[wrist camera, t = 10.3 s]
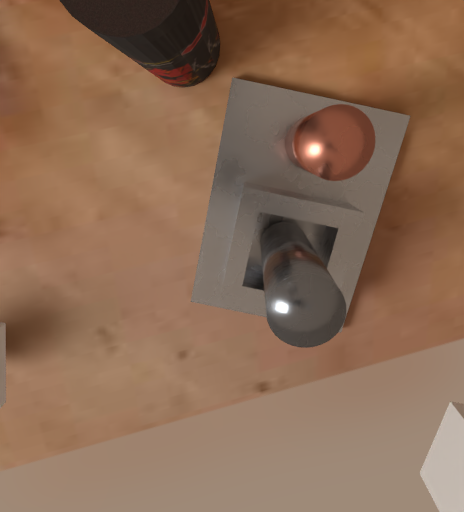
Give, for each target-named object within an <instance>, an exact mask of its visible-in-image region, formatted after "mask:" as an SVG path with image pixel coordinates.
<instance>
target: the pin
mask: <svg viewBox="0 0 464 512" xmlns="http://www.w3.org/2000/svg"><path fill="white" fill-rule="evenodd" d="M260 248H261V259H262V270H263V282H264V293H265V304H266V315H267V320H268V324H269V326H270V328H271V330H272V331H273V333H274V334H275V335H276V336H277V337H278V338H279V339H281V340H282V341H284V342H285V343H287V344H290V345H292V346H296V347H314V346H318V345H321V344H323V343H325V342H327V341H329V340H330V339H332V338H333V337H334V336H335V335H336V334H337V333H338V332H339V330H340V329H341V327H342V326H343V323H344V321H345V317H346V302H345V299H344V296H343V294H342V292H341V291H340V289H339V287H338V286H337V284H336V283H335V281H334V279H333V278H332V276H331V275H330V273H329V271H328V270H327V268H326V267H325V265H324V264H323V262H322V260H321V259H320V257H319V256H318V254H317V252H316V251H315V249H314V248H313V246H312V244H311V243H310V241H309V240H308V238H307V236H306V235H305V233H304V232H303V230H302V229H301V228H300V227H298V226H297V225H295V224H293V223H290V222H279V223H275V224H273V225H271V226H270V227H269V228H268V229H266V231H265V232H264V234H263V235H262V238H261V242H260Z"/></svg>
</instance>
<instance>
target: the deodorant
mask: <svg viewBox="0 0 464 512" xmlns="http://www.w3.org/2000/svg"><path fill="white" fill-rule="evenodd" d="M60 2H61V3H62V4H63V5H64V7H65V8H66V9H67V10H68V12H69V13H70V14H71V15H72V16H73V17H74V18H75V19H77V20H78V21H79V22H81V23H82V24H83V25H84V26H86V27H87V28H88V29H90V30H91V31H93V32H94V33H95V34H97V35H98V36H100V37H101V38H103V39H104V40H105V41H107V42H108V43H110V44H111V45H112V46H114V47H115V48H117V49H118V50H120V51H121V52H122V53H124V54H125V55H127V56H128V57H130V58H131V59H132V60H134V61H135V62H137V63H138V64H139V65H141V66H142V67H144V68H145V69H147V70H148V71H149V72H151V73H152V74H154V75H155V76H157V77H158V78H159V79H161V80H162V81H164V82H165V83H167V84H170V85H172V86H176V87H189V86H194V85H196V84H198V83H200V82H202V81H203V80H204V79H206V78H207V77H208V76H209V75H210V74H211V72H212V71H213V69H214V67H215V66H216V63H217V60H218V57H219V51H220V40H219V33H218V29H217V26H216V22H215V19H214V15H213V12H212V9H211V5H210V2H209V0H60Z"/></svg>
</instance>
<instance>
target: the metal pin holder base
mask: <svg viewBox="0 0 464 512" xmlns="http://www.w3.org/2000/svg"><path fill="white" fill-rule="evenodd" d="M409 119H410V115H405V114H400V113H396V112H391V111H386V110H382V109H377V108H372V107H368V106H363V105H358V104H354V103H349V102H344V101H340V100H335V99H331V98H326V97H321V96H317V95H312V94H307V93H303V92H298V91H293V90H289V89H284V88H279V87H275V86H270V85H265V84H261V83H256V82H251V81H247V80H242V79H237V78H232V83H231V88H230V94H229V99H228V104H227V110H226V115H225V121H224V126H223V131H222V137H221V142H220V147H219V153H218V158H217V164H216V169H215V174H214V180H213V185H212V190H211V196H210V201H209V207H208V212H207V217H206V223H205V228H204V233H203V239H202V244H201V250H200V255H199V260H198V266H197V271H196V276H195V282H194V287H193V293H192V298H191V302H195V303H200V304H205V305H210V306H215V307H220V308H224V309H229V310H234V311H239V312H244V313H249V314H254V315H258V316H263V317H267V315H266V304H265V293H264V282H263V270H262V259H261V248H260V242H261V238H262V235H263V234H264V232H265V231H266V229H268V228H269V227H270V226H271V225H273V224H275V223H279V222H290V223H293V224H295V225H297V226H298V227H300V228H301V229H302V230H303V232H304V233H305V235H306V236H307V238H308V240H309V241H310V243H311V244H312V246H313V248H314V249H315V251H316V252H317V254H318V256H319V257H320V259H321V260H322V262H323V264H324V265H325V267H326V268H327V270H328V271H329V273H330V275H331V276H332V278H333V279H334V281H335V283H336V284H337V286H338V287H339V289H340V291H341V292H342V294H343V296H344V299H345V302H346V315H347V312H348V309H349V306H350V303H351V300H352V297H353V294H354V291H355V287H356V284H357V281H358V278H359V275H360V272H361V269H362V266H363V262H364V259H365V256H366V253H367V250H368V247H369V244H370V241H371V238H372V234H373V231H374V228H375V225H376V222H377V219H378V216H379V213H380V209H381V206H382V203H383V200H384V197H385V194H386V191H387V188H388V185H389V181H390V178H391V175H392V172H393V169H394V166H395V163H396V160H397V156H398V153H399V150H400V147H401V144H402V141H403V138H404V135H405V132H406V128H407V125H408V122H409ZM345 319H346V317H345ZM344 322H345V321H344ZM343 325H344V323H343ZM342 328H343V326H342V327H341V329H340V330H339V332H341V331H342Z"/></svg>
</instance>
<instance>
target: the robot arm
mask: <svg viewBox="0 0 464 512" xmlns="http://www.w3.org/2000/svg"><path fill="white" fill-rule="evenodd" d="M5 402H6V323H3V322H0V408H1V407H2V406H3V404H4V403H5ZM420 475H421V477H422V479H423V481H424V483H425V485H426V486H427V488H428V490H429V492H430V494H431V496H432V498H433V500H434V502H435V504H436V506H437V508H438V510H439V512H464V404H460V403H456V402H450V404H449V406H448V408H447V411H446V413H445V415H444V418H443V420H442V422H441V425H440V427H439V429H438V432H437V434H436V437H435V439H434V441H433V443H432V446H431V448H430V451H429V453H428V455H427V457H426V460H425V462H424V464H423V467H422V469H421V472H420Z"/></svg>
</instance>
